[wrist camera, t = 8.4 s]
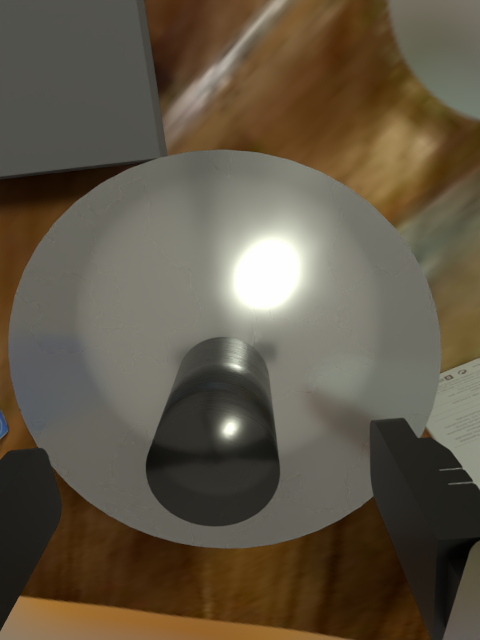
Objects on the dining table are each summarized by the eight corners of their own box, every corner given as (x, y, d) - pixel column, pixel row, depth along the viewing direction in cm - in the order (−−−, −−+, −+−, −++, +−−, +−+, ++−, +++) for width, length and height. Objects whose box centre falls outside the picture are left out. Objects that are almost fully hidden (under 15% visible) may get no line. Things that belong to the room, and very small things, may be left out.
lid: (-28, 182, 14) (-226, 181, 8) (431, 124, 13) (578, 76, 7) (77, 538, 19) (-2, 704, 13) (423, 510, 18) (511, 671, 12)
